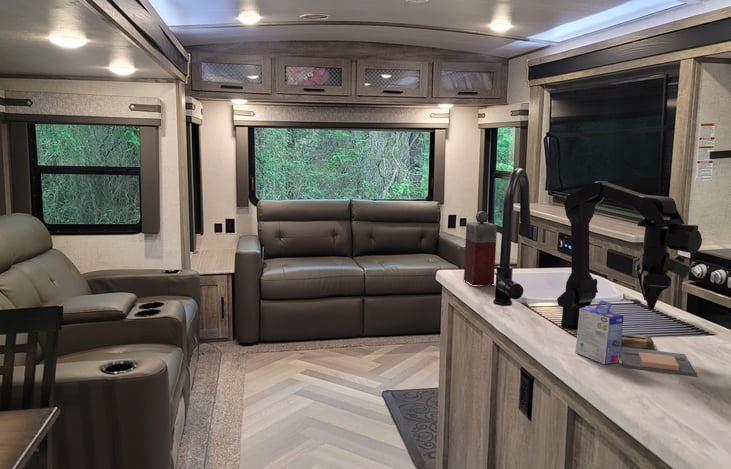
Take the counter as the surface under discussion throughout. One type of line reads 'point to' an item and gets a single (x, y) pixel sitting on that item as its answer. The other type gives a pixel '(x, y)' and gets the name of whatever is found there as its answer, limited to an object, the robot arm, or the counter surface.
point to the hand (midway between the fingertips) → (648, 304)
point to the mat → (632, 361)
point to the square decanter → (480, 251)
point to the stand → (637, 341)
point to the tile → (658, 361)
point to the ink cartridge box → (599, 333)
